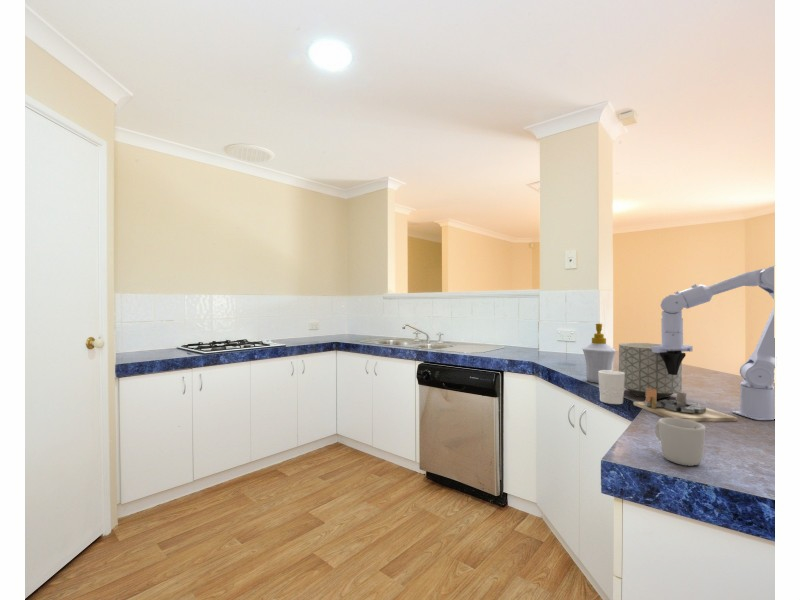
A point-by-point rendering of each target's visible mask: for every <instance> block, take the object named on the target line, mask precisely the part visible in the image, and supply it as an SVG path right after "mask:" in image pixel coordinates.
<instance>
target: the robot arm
mask: <svg viewBox="0 0 800 600" xmlns="http://www.w3.org/2000/svg"><path fill="white" fill-rule="evenodd" d="M774 266H775V265H772V266H769V267H766V268H762V269H761V268H760V269H756V270H753V271H748V272H744V273H742V274H738V275H736V276H735V275H734V276H733V277H730V278H728V279H724V280H721V281H720V282H717V283H714V284H712V285H711V284H710V285H708V286H707V285H704V284H698V285H697V284H692V285H691V286H690V288H687V289H684V290H682V291H678V290H677V291H675V292H674V294H669V295H668V296H665V297H664V298H663V299H662V301H661V302H660V308H661V309H662V311H661V316H662V317H661V319H660V320H661V321H660V322H661V325H660V326H661V331H660V332H661V344H662V345H659V346H652V352H654V353H660V356H661V357H662V359H663V361H664V363H665V365H666V368H667V372H668V374H671V375H677V373H678V370H679V367H680V364H681V362H682V363H683V360H684V359H685V357H686V353H685V352H689V353H690V352H693V345H691V344H690V345H689V344H684V319H683V314H682V313H683V309H684V308H685V309H686V310H687V309H691V308H694V307H696V306H700V305H702V304H705V303H708V302H711V300H712V298H713V296H715V295H719V294H721V293H725V292H729V291H732V290H734V289H737V288H741V287H759V288H760V289H762V290H764V291H765V292H767V293H768V294H769V295H770V297H771V298H772V299H773V300H774ZM670 349H677V350H670ZM681 352H682V353H681ZM775 369H776V367H775V338H774V306H773V307H772V310H771V312H770V314H769V317H768V319H767V321H766V323H765V326H764V328H763V331H762V332H761V335H760V337H759V340H758V342H757V344H756V346H755V349H754V351H753V352H752V353H751V355H750V356H749V358H748V359H747V361H746V362H745V363H743V364H742V365H741V366H740V367H739V374H740V376H741V378H742V379H743V380H742V381H741V382H740V385H739V387H740V388H739V389H740V390H739V393H740V394H739V396H740V397H739V398H740V399H739V400H740V401H739V403H740V405H739V410H732V413H733V414H736V415H740V416H743V417H746V418H749V419H753V420H755V421H775V420H774V387H775V386H774V385H773V383H774V382H775V380H774V375H775Z"/></svg>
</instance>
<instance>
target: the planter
mask: <svg viewBox="0 0 800 600" xmlns="http://www.w3.org/2000/svg"><path fill="white" fill-rule="evenodd" d="M659 345H662V343H653V342H652V343H650V342H649V343H648V342H621V343H619V344H618V371H620V372H624V373H625V383H624V389H626V390H627V391H629V392H630V393H632V394H633V395H635V396H637V395H638V396H637V397H640V396H641V398H645V397H646V388H652V389H656V390H657V399H658V398H659V399H665V398H667V397H670V396H672V395H674V394H677V392H683V389H682V388H683V386H682V385H683V379H682V377H683V375H682V373H683V367H682V366H683V365H682V364H683V361H682V362H681V364H680V367H679V370H678V373H677V375H671V374H668V372H667V368H666V365H665V363H664V361H663V359H662V357H661V356H660V353H654V352H652V346H659ZM670 350H677V349H670ZM681 353H683V352H681Z"/></svg>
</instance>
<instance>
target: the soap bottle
mask: <svg viewBox="0 0 800 600" xmlns="http://www.w3.org/2000/svg"><path fill="white" fill-rule="evenodd" d="M595 330H596V333H594V334H593V337H591V343H590V344H588V345H586V346H584V347H583V348H581V349H582V351H583V354H584V358H585V360H584V361H585V365H586V380H587V381H588V382H590V383H593V382H597V383H596V384H599V376H598V371H600V370H612V368H613V362H614V358H615V355H616V353H617V350H616V349H614V348H613V347H611V346H610V345H608V344H607V338H606V337H605V336H604V333H602V330H603V323H596V324H595ZM612 371H613V370H612Z"/></svg>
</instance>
